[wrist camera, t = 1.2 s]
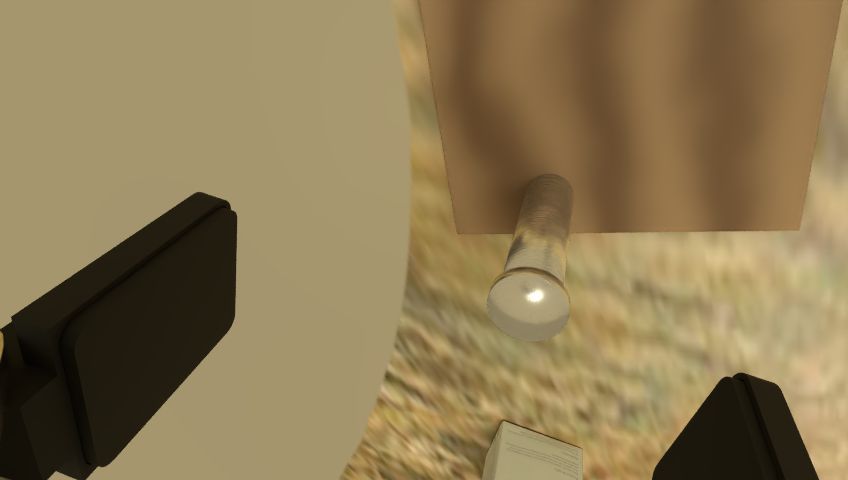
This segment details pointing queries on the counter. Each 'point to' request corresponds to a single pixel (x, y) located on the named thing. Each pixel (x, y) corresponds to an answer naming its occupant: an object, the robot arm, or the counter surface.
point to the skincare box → (531, 457)
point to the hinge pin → (536, 265)
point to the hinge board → (631, 109)
